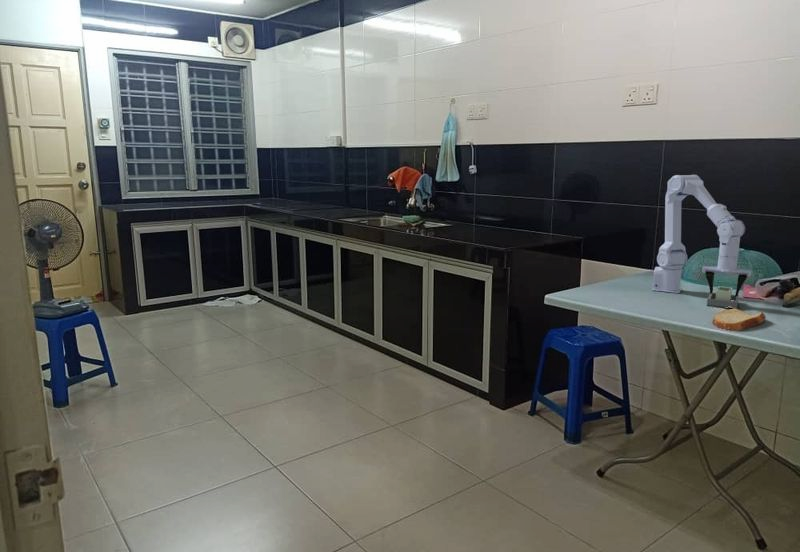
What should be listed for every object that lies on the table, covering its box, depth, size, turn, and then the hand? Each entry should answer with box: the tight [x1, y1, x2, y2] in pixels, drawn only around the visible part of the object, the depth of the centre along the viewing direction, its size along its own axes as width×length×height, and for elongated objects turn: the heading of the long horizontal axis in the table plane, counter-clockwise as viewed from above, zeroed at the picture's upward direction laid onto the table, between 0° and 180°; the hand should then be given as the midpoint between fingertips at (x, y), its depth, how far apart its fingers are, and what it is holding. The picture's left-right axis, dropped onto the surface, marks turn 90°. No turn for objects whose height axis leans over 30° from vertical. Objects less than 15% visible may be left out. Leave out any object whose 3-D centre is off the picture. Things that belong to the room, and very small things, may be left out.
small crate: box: [715, 286, 733, 301], centre depth 194 cm, size 4×7×5 cm, turn 147°
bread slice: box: [711, 308, 766, 332], centre depth 171 cm, size 18×18×4 cm
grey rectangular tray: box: [706, 292, 740, 309], centre depth 194 cm, size 9×11×2 cm
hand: (723, 294), depth 194 cm, fingers open, 7 cm apart
